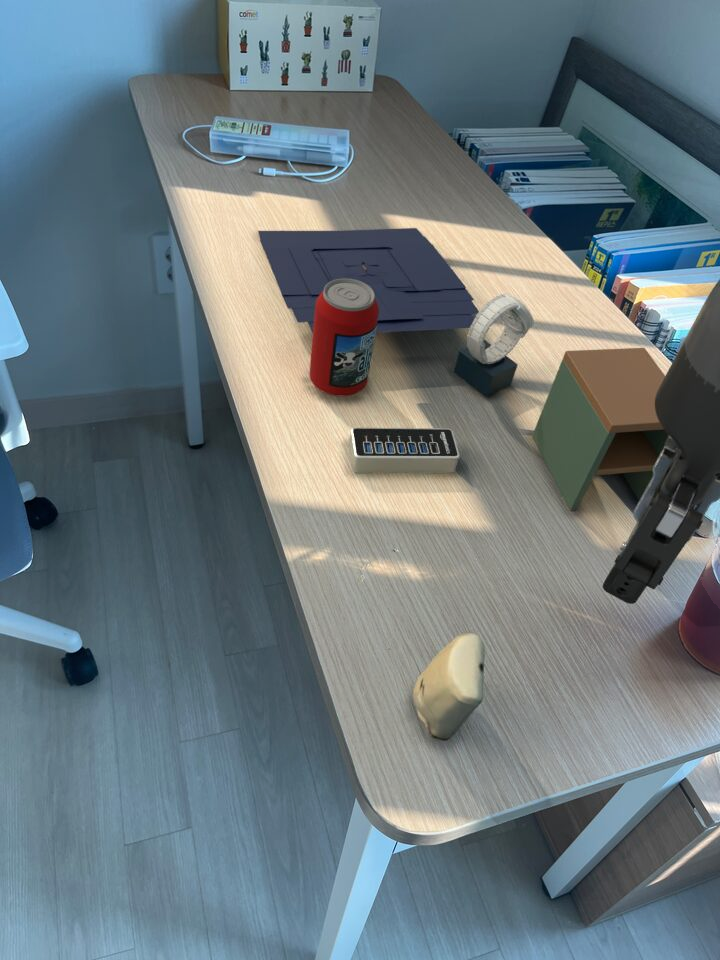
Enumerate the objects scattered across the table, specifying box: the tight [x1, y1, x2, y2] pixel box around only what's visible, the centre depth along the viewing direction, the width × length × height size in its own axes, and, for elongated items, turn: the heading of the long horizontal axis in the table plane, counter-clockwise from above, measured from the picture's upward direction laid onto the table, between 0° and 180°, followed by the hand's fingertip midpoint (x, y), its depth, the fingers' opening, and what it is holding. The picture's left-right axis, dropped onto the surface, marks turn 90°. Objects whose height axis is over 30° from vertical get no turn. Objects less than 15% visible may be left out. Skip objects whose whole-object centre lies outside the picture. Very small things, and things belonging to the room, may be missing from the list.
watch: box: [453, 293, 535, 398], centre depth 87 cm, size 6×8×11 cm
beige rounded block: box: [412, 631, 486, 742], centre depth 58 cm, size 6×5×8 cm
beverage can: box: [309, 279, 379, 397], centre depth 83 cm, size 7×7×12 cm
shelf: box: [531, 347, 669, 511], centre depth 78 cm, size 11×9×12 cm
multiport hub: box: [348, 427, 460, 474], centre depth 79 cm, size 4×11×2 cm, turn 97°
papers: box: [257, 227, 480, 334], centre depth 99 cm, size 24×30×4 cm
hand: (638, 551), depth 51 cm, fingers open, 8 cm apart
